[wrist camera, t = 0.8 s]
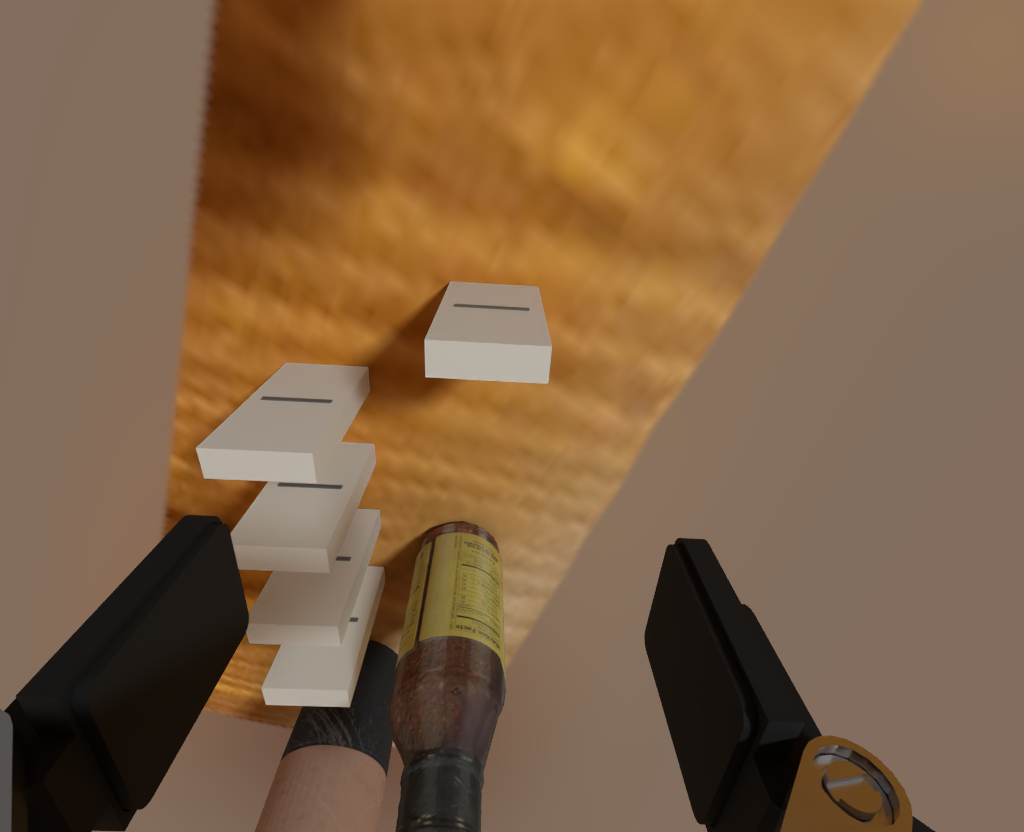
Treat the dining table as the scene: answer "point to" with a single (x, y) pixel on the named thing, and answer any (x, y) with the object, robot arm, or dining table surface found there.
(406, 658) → the sauce bottle
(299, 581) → the domino
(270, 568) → the domino
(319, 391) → the domino
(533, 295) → the domino
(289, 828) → the travel mug
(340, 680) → the domino
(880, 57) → the dining table surface
